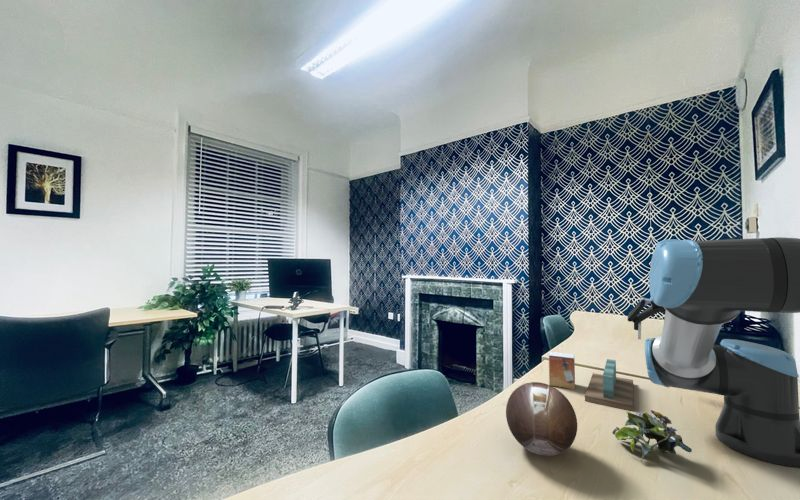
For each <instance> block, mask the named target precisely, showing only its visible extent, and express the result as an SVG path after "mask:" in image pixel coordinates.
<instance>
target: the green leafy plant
mask: <svg viewBox="0 0 800 500" xmlns="http://www.w3.org/2000/svg"><path fill="white" fill-rule="evenodd" d="M650 412H651V414H653V415H654V416H653V415H651V414H649V413H648V412H646V411H644V412H640V411H638V412H636V413H632V411H631V412H630V410H626V414H627V416H626V417H627V418H628V419H627V420H626V421H625V423H624V426H623V427H621V428H619V427H617V426H615V428H614V429H613V430H612V431H611V432H612V434H613V435H614V436H615V438H616V439H617V440H618V441H622V440H624V441H626V440H631V441H630V449H631V452H633V453H634V452H635V448H636V444H638V443H639V444H640V445H641V446H640V447H641V451H642V455H641V457H640V458H642V459H644V457H646V455H647V454H648V453H649V452H652V451H653V450H654V448H655V447H656V446H657V447H658V448H659V450H660V449H661V450H660V451H662V450H663V451H667V452H669V453H671V454H673V455H676V453H677V452H676V449H675V448H676V447H679V448H680V449H682V450H683V451H686V452H687V453H692V451H693V449H692V448H691V447H689V446H688V445H686V444H685V443H684V441H683V438H682V436H681V434H680V435H679V434H677V433H676V432H677V431H678V430H677V429H676V428H673V427H672V426H667V425H672V421H671V419H669V418H668V416H666V415H664V414H662V413H661V412H659V411H655V410H650ZM629 426H634V427H629ZM635 426H636V427H635ZM637 427H638V429H637ZM644 436H645V438H647V439H648V441H647V440H645V438H644ZM640 440H641V441H640ZM650 440H655V441H656V443H654V444H652V445H650ZM663 451H662V452H663Z"/></svg>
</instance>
